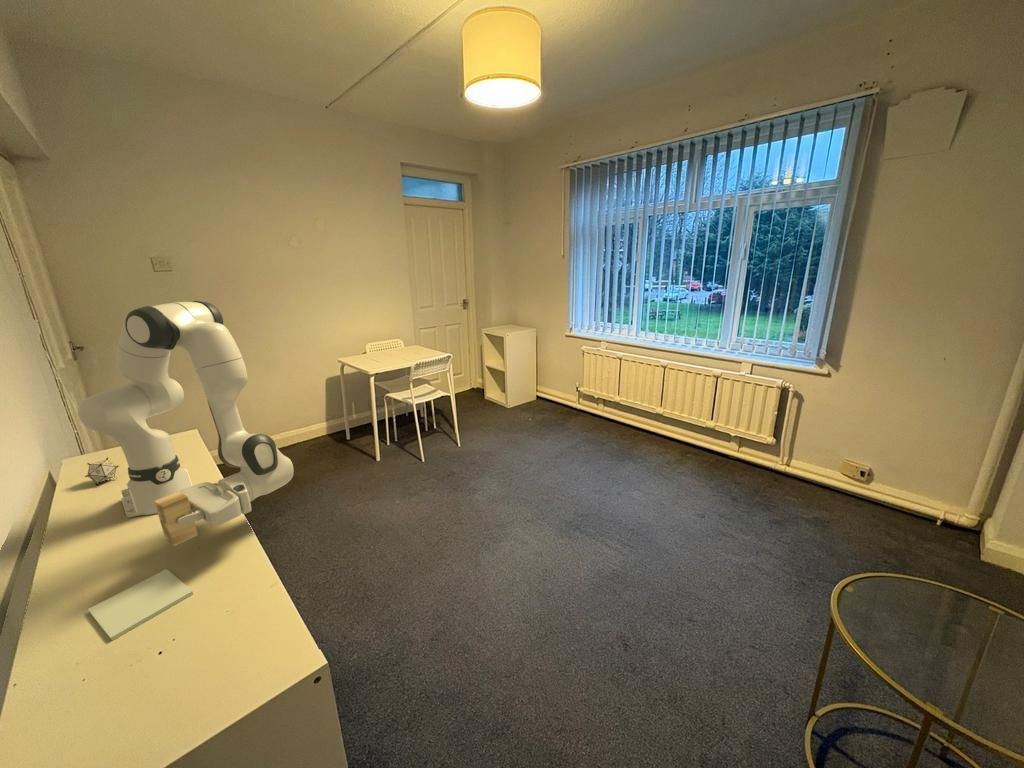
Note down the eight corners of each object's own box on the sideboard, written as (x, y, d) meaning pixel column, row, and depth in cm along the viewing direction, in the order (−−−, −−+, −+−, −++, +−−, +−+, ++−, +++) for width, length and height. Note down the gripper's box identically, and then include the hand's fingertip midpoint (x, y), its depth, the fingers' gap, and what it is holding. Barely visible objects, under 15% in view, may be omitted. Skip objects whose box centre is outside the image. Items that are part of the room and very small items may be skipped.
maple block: (165, 539, 102) (154, 500, 99) (188, 528, 106) (178, 491, 103) (174, 546, 100) (162, 506, 97) (197, 535, 104) (187, 496, 101)
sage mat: (89, 612, 89) (87, 609, 88) (167, 571, 100) (166, 569, 100) (111, 640, 82) (110, 637, 81) (193, 593, 93) (192, 591, 93)
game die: (111, 488, 148) (122, 460, 151) (115, 486, 142) (126, 458, 146) (77, 485, 142) (89, 456, 145) (79, 483, 136) (91, 453, 140)
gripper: (211, 472, 116) (151, 495, 105) (249, 492, 106) (187, 519, 95) (216, 491, 118) (157, 516, 107) (254, 513, 108) (193, 543, 96)
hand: (171, 518), depth 101 cm, fingers closed on maple block, 5 cm apart
